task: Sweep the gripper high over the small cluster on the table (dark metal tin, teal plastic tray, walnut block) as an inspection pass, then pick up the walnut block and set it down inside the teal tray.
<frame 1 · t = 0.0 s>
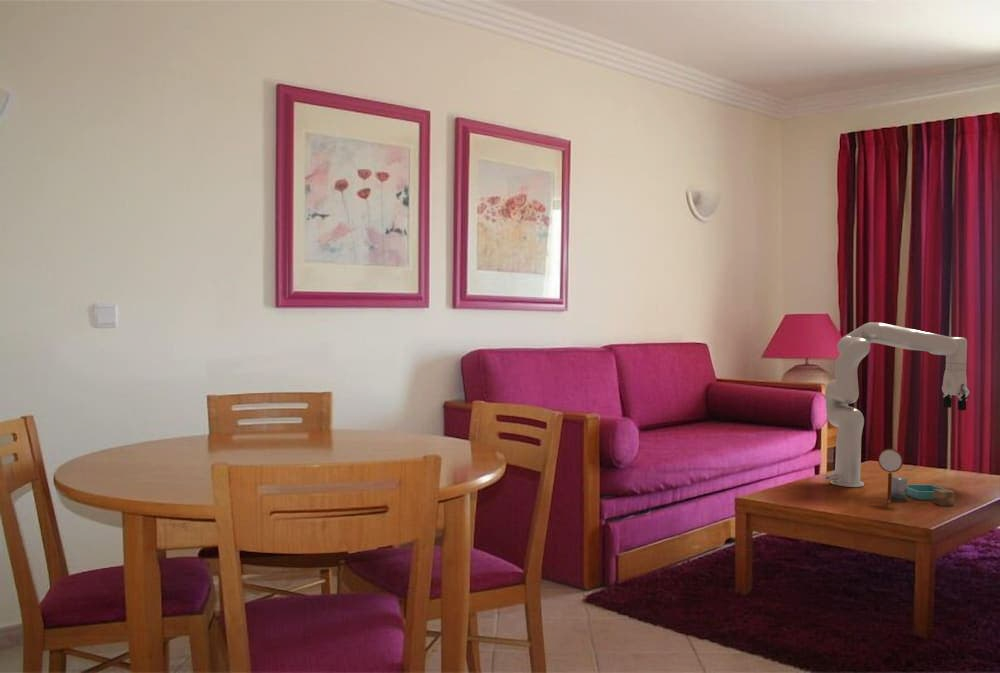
hand: (954, 408, 365), 31 cm above the table, fingers open, 9 cm apart
metal tin: (898, 499, 335), on the table
walnut block: (943, 504, 328), on the table
magnifying glass: (889, 503, 328), on the table
teal tray: (924, 495, 342), on the table
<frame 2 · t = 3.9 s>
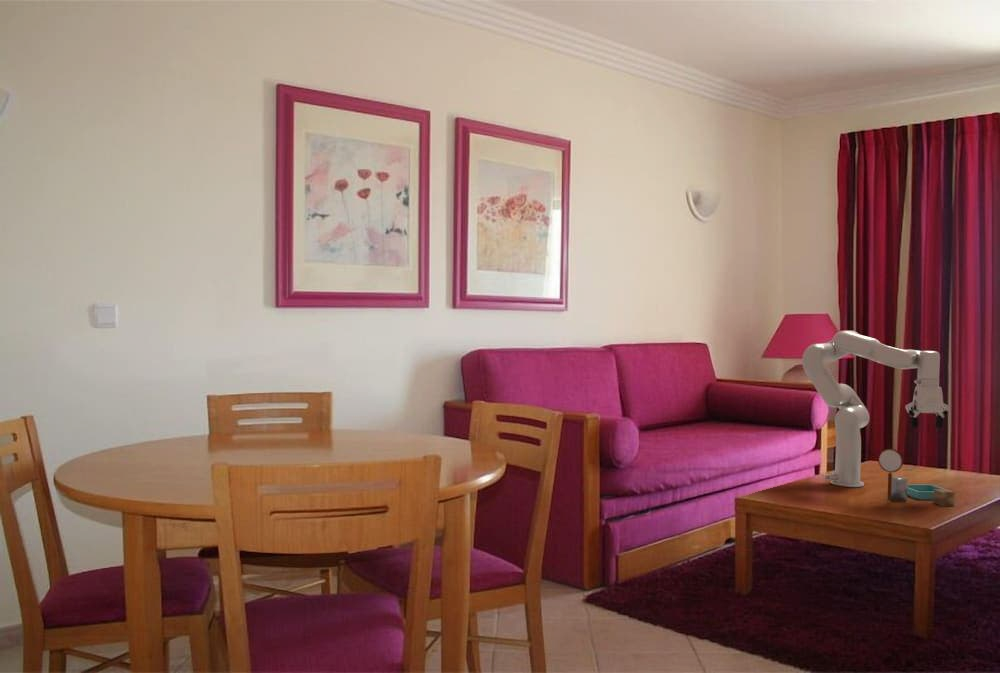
hand: (926, 427, 341), 26 cm above the table, fingers open, 9 cm apart
nothing on the table moved.
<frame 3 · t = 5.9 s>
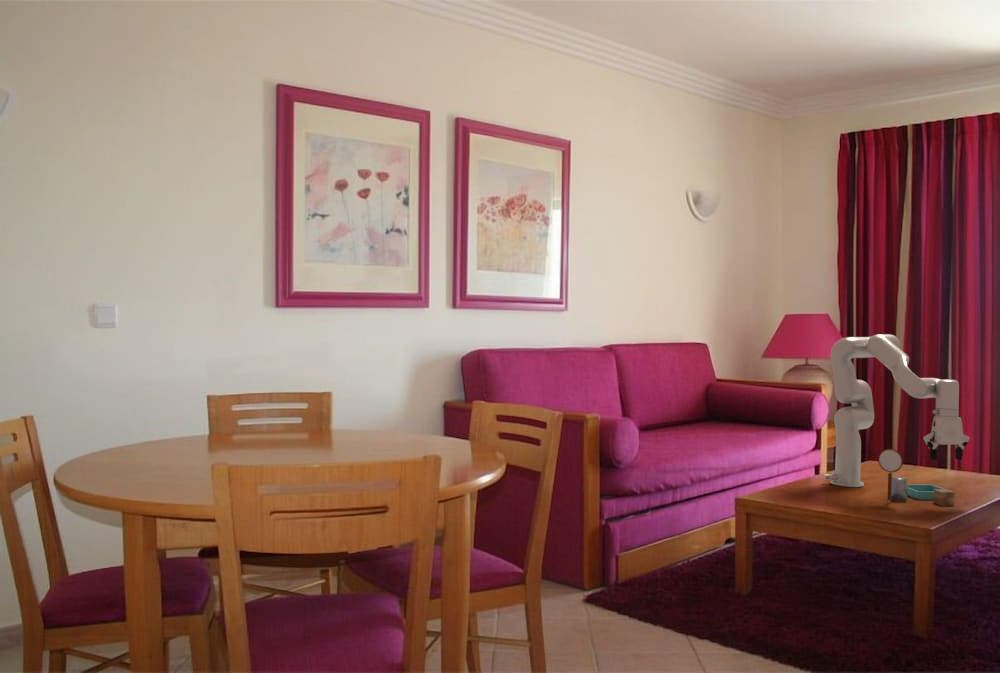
hand: (946, 459, 327), 16 cm above the table, fingers open, 9 cm apart
nothing on the table moved.
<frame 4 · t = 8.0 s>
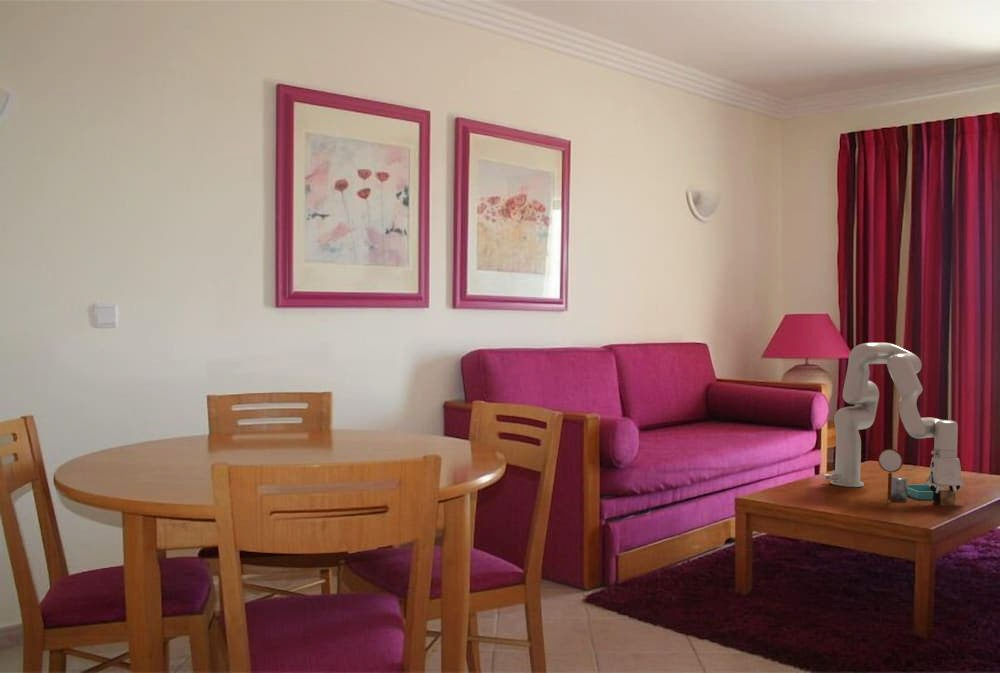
hand: (943, 502, 328), 0 cm above the table, fingers closed on walnut block, 5 cm apart
walnut block: (943, 503, 328), on the table, touching gripper
everything else where it was.
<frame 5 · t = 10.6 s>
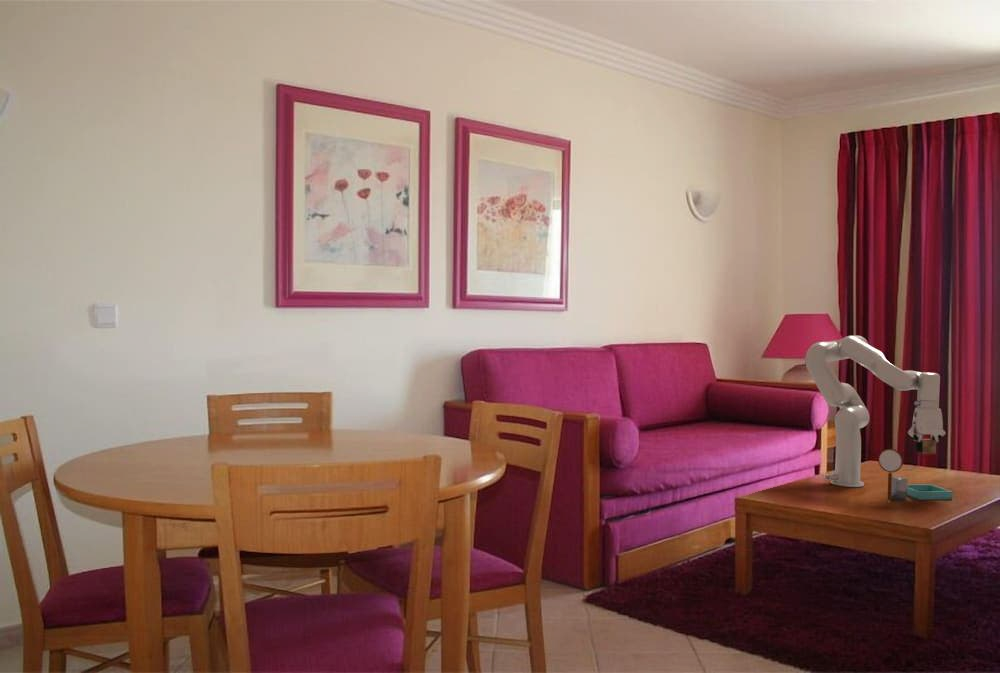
hand: (925, 451, 341), 17 cm above the table, fingers closed on walnut block, 5 cm apart
walnut block: (925, 452, 342), point 17 cm above the table, touching gripper
everything else where it was.
when the fingers open (3 cm above the table, at t = 13.7 s): walnut block drops 2 cm, resting on teal tray.
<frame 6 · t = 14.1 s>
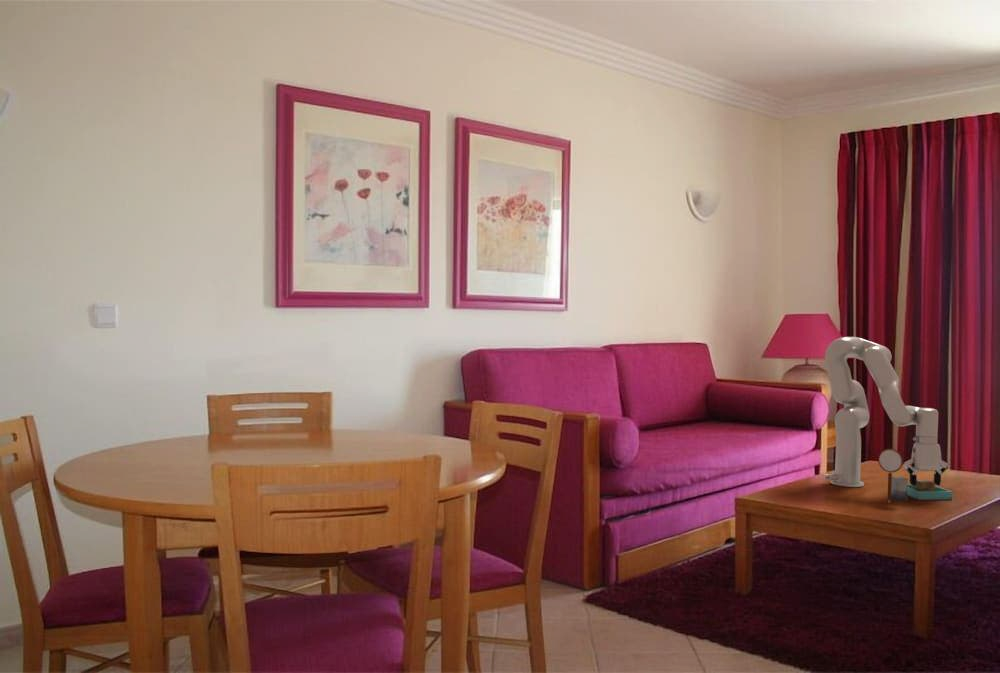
hand: (925, 484, 342), 4 cm above the table, fingers open, 9 cm apart
walnut block: (924, 494, 342), point 1 cm above the table, touching teal tray
everything else where it was.
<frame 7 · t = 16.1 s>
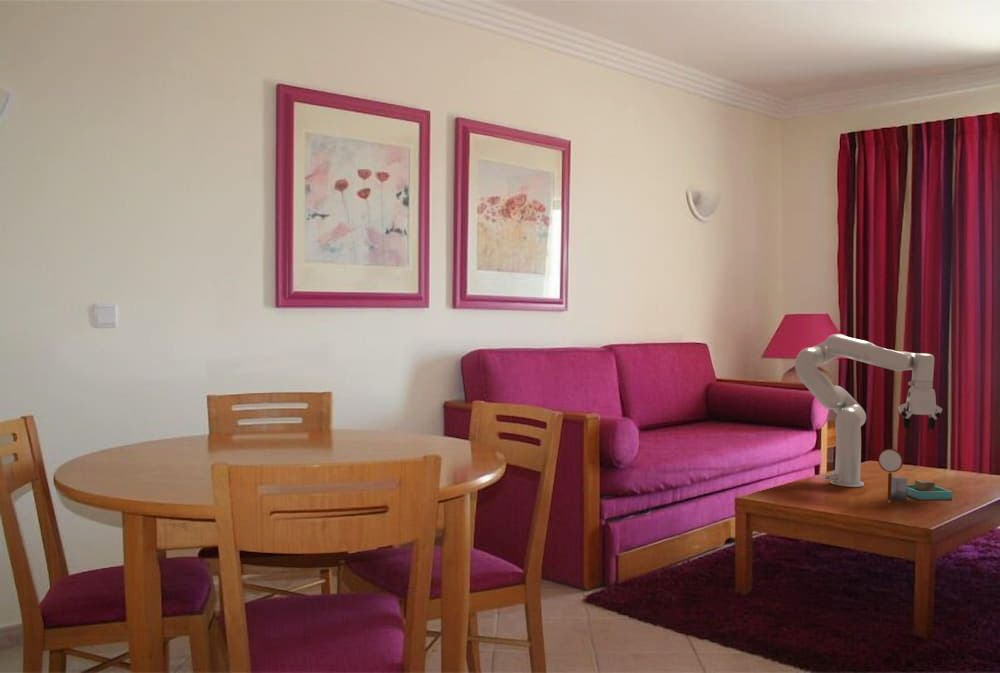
hand: (918, 428, 347), 25 cm above the table, fingers open, 9 cm apart
nothing on the table moved.
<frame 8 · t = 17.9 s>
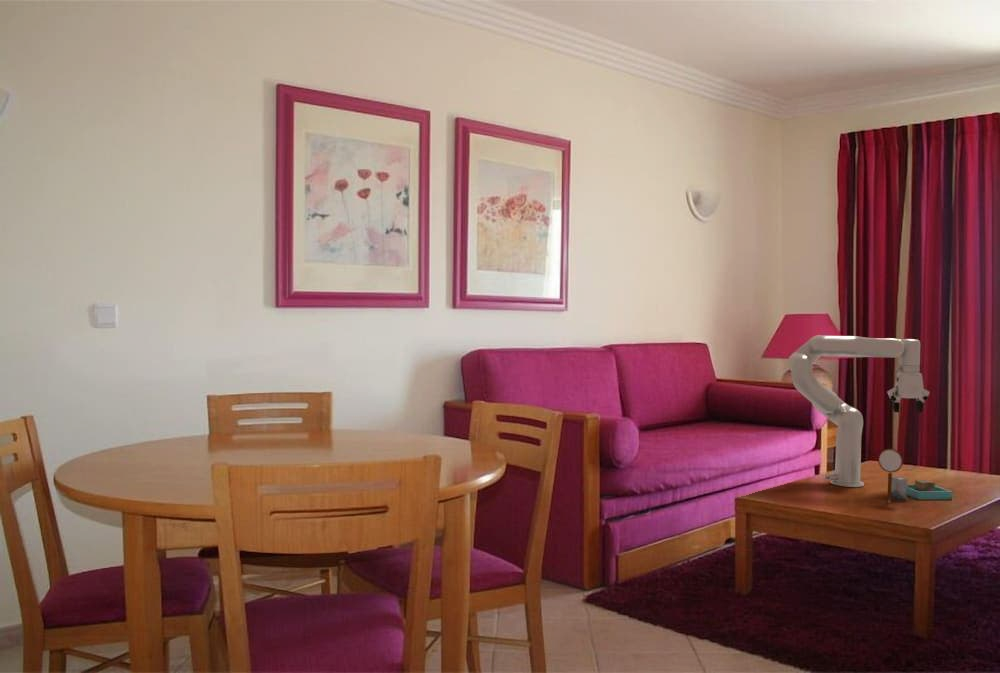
hand: (907, 412, 358), 30 cm above the table, fingers open, 9 cm apart
nothing on the table moved.
at the end: walnut block inside the target area on the teal tray (0.1 cm from its centre), point 0.6 cm above the teal tray's base; walnut block tilted 0°; metal tin moved 0.0 cm from its start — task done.
